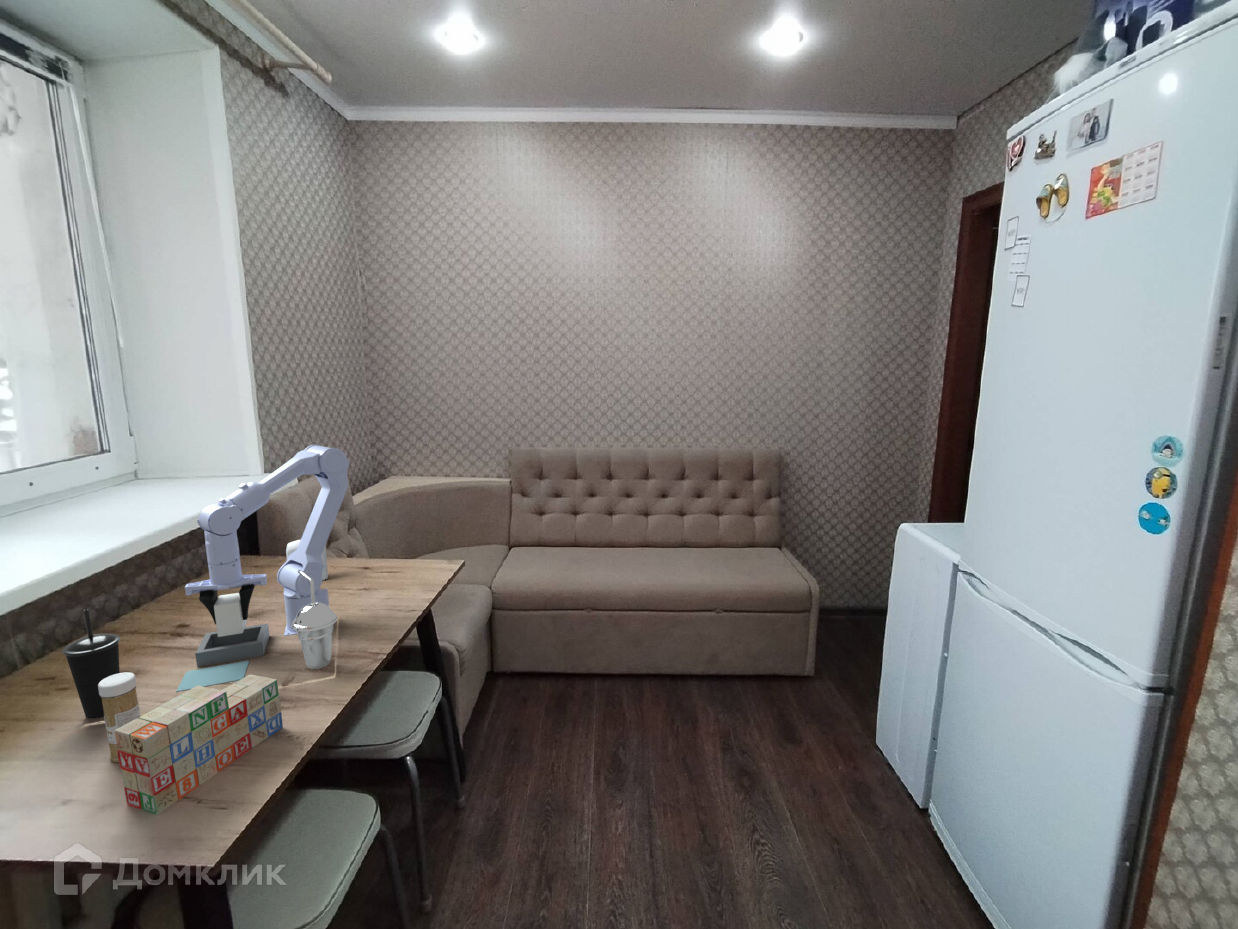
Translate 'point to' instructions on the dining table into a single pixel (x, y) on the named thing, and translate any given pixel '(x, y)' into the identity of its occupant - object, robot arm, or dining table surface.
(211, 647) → the case
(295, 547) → the photo printer
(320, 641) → the cup with straw
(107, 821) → the dining table surface
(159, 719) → the stack of blocks
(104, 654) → the drinking cup
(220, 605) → the block
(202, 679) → the mat
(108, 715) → the sprinkles bottle
